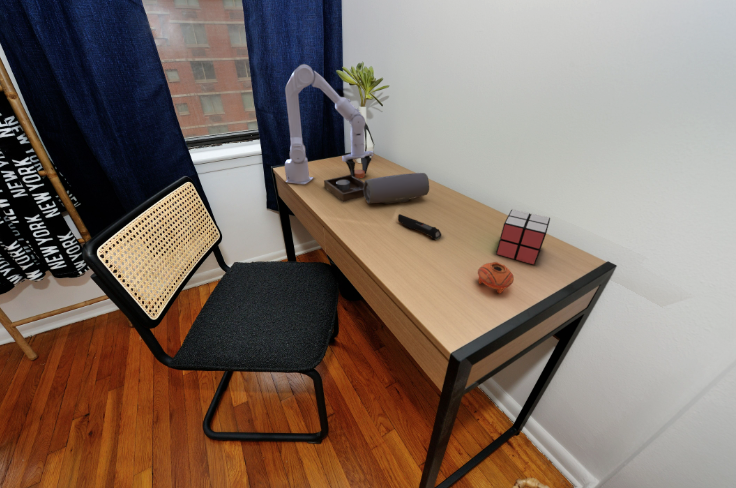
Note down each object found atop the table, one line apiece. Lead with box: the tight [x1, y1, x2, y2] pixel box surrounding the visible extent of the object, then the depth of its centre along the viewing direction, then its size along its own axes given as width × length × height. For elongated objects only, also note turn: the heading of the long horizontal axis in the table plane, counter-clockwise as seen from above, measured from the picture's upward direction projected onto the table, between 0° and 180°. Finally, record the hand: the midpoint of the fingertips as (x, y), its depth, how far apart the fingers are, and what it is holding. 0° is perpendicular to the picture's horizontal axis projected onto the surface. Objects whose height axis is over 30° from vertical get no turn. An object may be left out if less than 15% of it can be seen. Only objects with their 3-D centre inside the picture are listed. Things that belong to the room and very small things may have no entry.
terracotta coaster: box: [354, 169, 366, 179], centre depth 136 cm, size 6×6×2 cm
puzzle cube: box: [495, 209, 551, 266], centre depth 84 cm, size 10×10×10 cm
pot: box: [477, 261, 515, 294], centre depth 73 cm, size 8×8×7 cm
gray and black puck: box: [336, 180, 350, 190], centre depth 125 cm, size 6×6×2 cm
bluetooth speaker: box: [363, 172, 430, 205], centre depth 113 cm, size 23×9×10 cm, turn 108°
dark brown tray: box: [323, 174, 365, 203], centre depth 122 cm, size 17×13×3 cm
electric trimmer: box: [397, 213, 442, 241], centre depth 96 cm, size 4×16×3 cm, turn 45°
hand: (358, 174), depth 137 cm, fingers closed on terracotta coaster, 5 cm apart
